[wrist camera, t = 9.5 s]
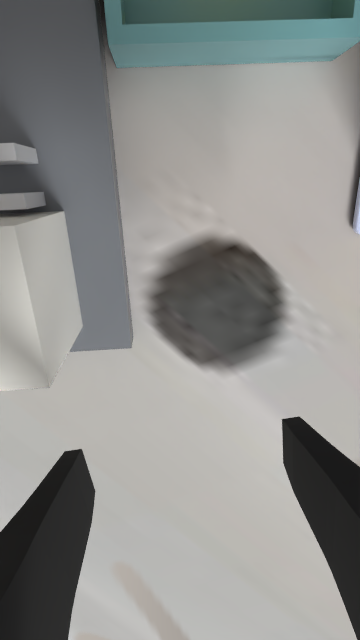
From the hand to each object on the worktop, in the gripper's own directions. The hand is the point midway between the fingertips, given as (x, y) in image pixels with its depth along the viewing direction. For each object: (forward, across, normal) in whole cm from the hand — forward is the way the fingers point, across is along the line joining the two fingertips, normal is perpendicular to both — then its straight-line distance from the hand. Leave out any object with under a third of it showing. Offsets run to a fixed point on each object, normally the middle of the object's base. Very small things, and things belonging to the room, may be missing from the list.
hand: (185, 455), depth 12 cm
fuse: (+8, +6, -6) cm, 12 cm away
